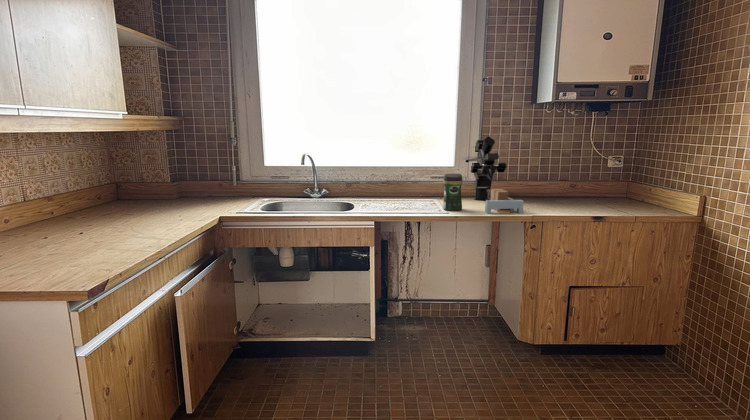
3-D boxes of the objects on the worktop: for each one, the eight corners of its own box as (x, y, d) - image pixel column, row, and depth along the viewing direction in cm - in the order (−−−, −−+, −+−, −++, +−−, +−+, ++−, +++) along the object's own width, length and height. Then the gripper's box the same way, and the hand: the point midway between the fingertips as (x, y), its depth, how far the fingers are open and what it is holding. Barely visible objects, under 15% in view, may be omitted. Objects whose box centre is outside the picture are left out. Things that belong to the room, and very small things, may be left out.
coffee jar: (459, 208, 229) (461, 172, 226) (463, 211, 222) (464, 174, 218) (441, 208, 229) (442, 172, 226) (444, 211, 221) (445, 174, 218)
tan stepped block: (490, 207, 231) (490, 188, 229) (499, 207, 231) (500, 188, 229) (500, 213, 215) (501, 193, 213) (510, 213, 216) (511, 193, 214)
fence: (479, 208, 227) (480, 197, 226) (514, 208, 228) (514, 196, 227) (486, 213, 215) (487, 201, 214) (522, 212, 216) (523, 200, 215)
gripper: (472, 147, 238) (477, 170, 229) (506, 147, 239) (512, 170, 230) (468, 161, 247) (472, 183, 238) (501, 161, 248) (506, 183, 239)
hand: (491, 179), depth 236 cm, fingers closed
